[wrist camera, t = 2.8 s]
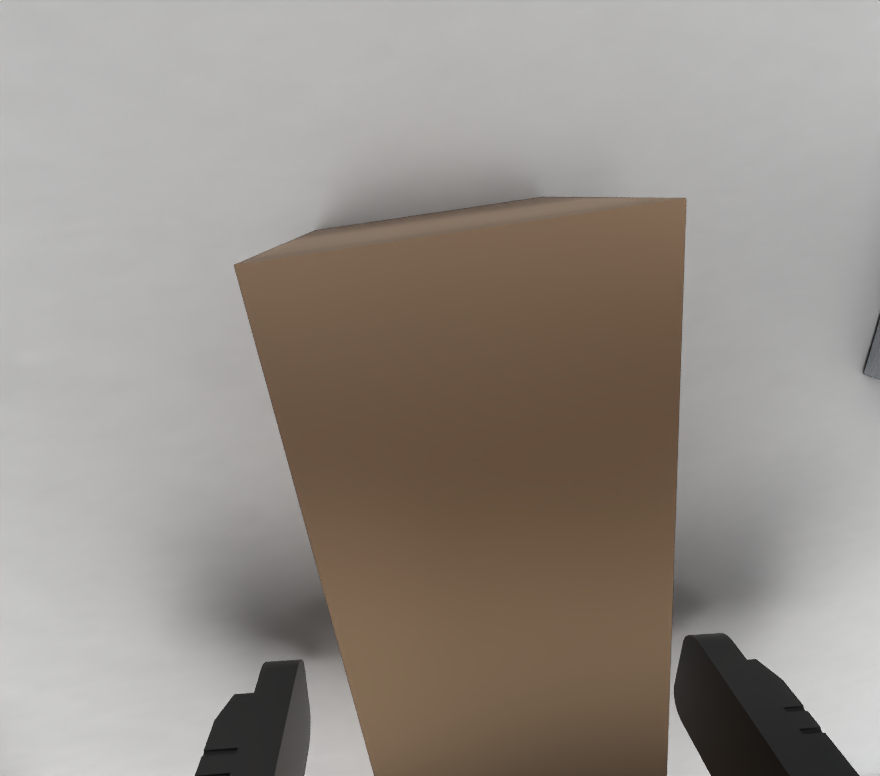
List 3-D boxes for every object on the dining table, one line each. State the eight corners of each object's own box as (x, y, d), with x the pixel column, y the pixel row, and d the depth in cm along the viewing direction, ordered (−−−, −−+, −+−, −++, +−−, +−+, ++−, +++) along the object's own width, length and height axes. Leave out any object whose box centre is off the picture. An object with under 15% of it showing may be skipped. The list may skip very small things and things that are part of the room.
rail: (316, 229, 9) (234, 266, 4) (538, 196, 9) (687, 197, 5) (448, 846, 16) (470, 1126, 11) (578, 823, 16) (656, 1090, 11)
